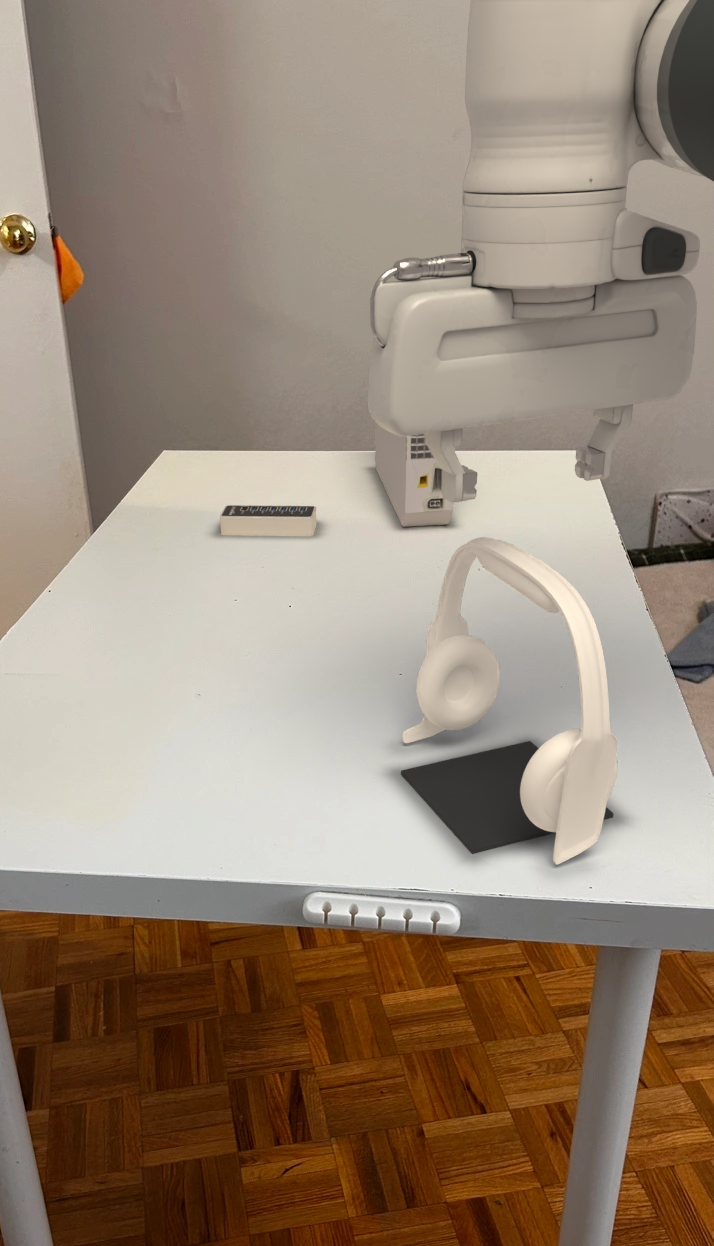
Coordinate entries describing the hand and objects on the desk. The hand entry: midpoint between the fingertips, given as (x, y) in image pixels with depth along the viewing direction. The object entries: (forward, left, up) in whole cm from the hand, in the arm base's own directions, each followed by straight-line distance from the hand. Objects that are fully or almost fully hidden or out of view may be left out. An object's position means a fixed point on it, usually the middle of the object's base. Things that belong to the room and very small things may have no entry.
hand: (526, 488), depth 68 cm
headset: (0, 0, -22) cm, 22 cm away
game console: (-24, -66, -23) cm, 74 cm away
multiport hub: (-4, -62, -23) cm, 66 cm away
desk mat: (0, 0, -23) cm, 23 cm away
